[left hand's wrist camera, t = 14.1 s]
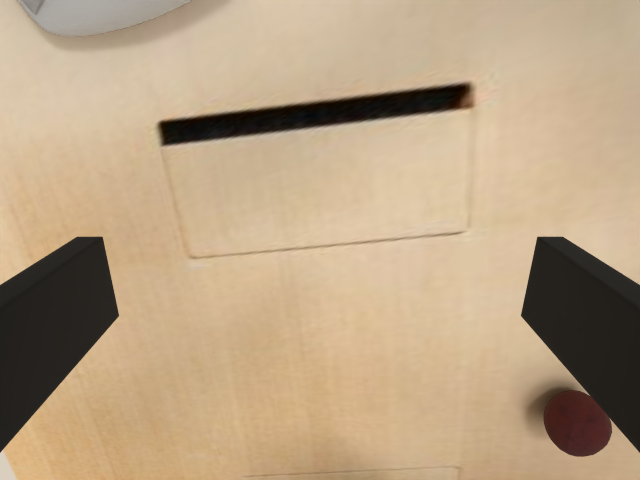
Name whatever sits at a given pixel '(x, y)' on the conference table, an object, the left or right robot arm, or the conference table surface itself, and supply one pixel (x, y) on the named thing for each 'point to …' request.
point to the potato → (577, 424)
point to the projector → (94, 14)
